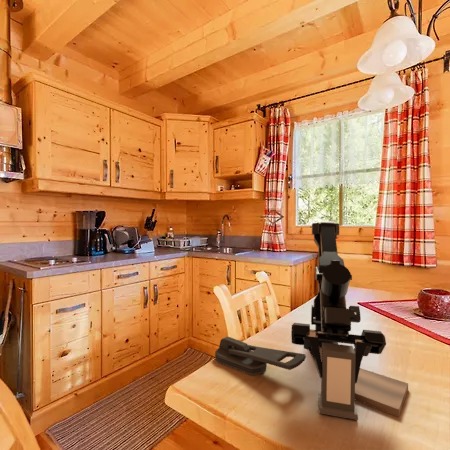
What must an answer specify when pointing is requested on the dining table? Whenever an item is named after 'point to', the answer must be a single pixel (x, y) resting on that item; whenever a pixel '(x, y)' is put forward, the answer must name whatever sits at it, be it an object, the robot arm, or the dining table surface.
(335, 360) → the picture frame
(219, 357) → the zipper pull
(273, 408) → the dining table surface
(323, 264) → the robot arm
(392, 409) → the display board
